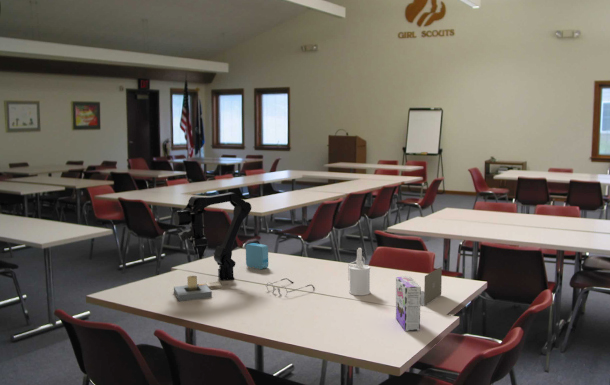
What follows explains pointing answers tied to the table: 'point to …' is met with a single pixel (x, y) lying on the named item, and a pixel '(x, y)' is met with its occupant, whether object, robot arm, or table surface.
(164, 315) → the table surface
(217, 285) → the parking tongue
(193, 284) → the brass peg
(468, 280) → the table surface
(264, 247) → the data package
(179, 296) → the hole plate
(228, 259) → the robot arm
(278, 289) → the eyeglasses
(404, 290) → the candy box
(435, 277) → the laptop
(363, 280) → the white squeeze bottle
